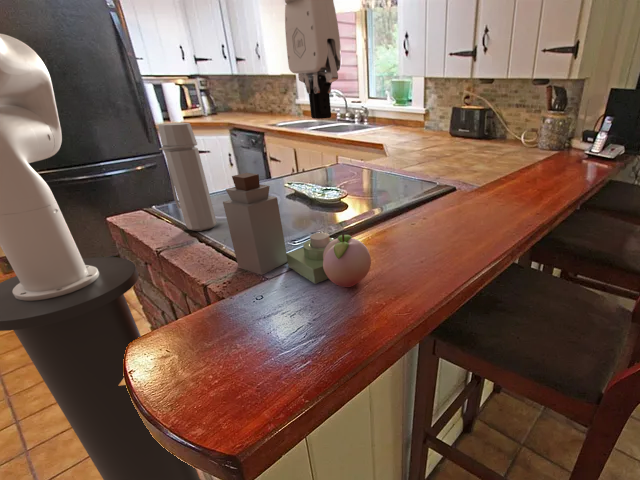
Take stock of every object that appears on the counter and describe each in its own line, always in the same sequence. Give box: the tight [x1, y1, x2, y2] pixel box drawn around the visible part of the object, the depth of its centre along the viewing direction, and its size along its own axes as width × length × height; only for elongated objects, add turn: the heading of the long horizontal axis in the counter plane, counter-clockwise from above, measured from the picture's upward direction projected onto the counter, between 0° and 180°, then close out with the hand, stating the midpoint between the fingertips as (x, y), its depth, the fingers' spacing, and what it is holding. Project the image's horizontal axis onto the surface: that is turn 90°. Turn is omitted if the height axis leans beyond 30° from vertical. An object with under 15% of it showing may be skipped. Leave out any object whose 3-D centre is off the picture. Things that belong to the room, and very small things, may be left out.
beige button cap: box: [309, 232, 331, 248], centre depth 69 cm, size 4×4×2 cm
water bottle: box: [157, 122, 218, 232], centre depth 88 cm, size 9×8×25 cm
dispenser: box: [286, 237, 336, 285], centre depth 71 cm, size 10×10×5 cm
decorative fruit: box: [323, 233, 372, 288], centre depth 63 cm, size 9×8×10 cm
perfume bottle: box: [222, 172, 288, 276], centre depth 69 cm, size 7×7×18 cm
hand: (321, 117), depth 65 cm, fingers closed
